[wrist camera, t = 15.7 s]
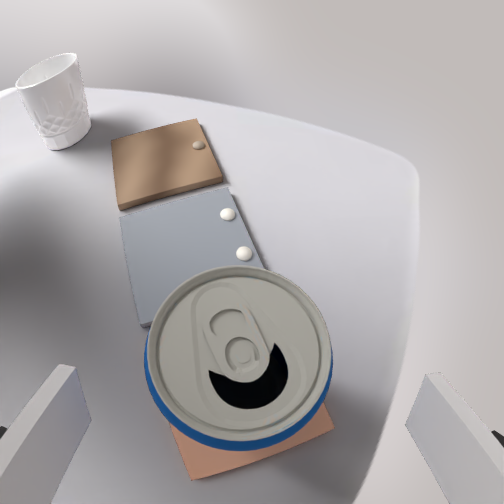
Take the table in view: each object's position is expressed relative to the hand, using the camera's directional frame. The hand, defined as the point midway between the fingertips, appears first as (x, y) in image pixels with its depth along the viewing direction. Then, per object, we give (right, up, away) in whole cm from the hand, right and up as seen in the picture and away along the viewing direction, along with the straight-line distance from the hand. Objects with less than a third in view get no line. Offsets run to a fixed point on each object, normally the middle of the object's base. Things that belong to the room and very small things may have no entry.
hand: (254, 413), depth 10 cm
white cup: (-23, +21, +23) cm, 39 cm away
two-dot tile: (-5, +6, +15) cm, 17 cm away
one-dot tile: (-9, +15, +21) cm, 27 cm away
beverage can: (-1, -3, +9) cm, 10 cm away
